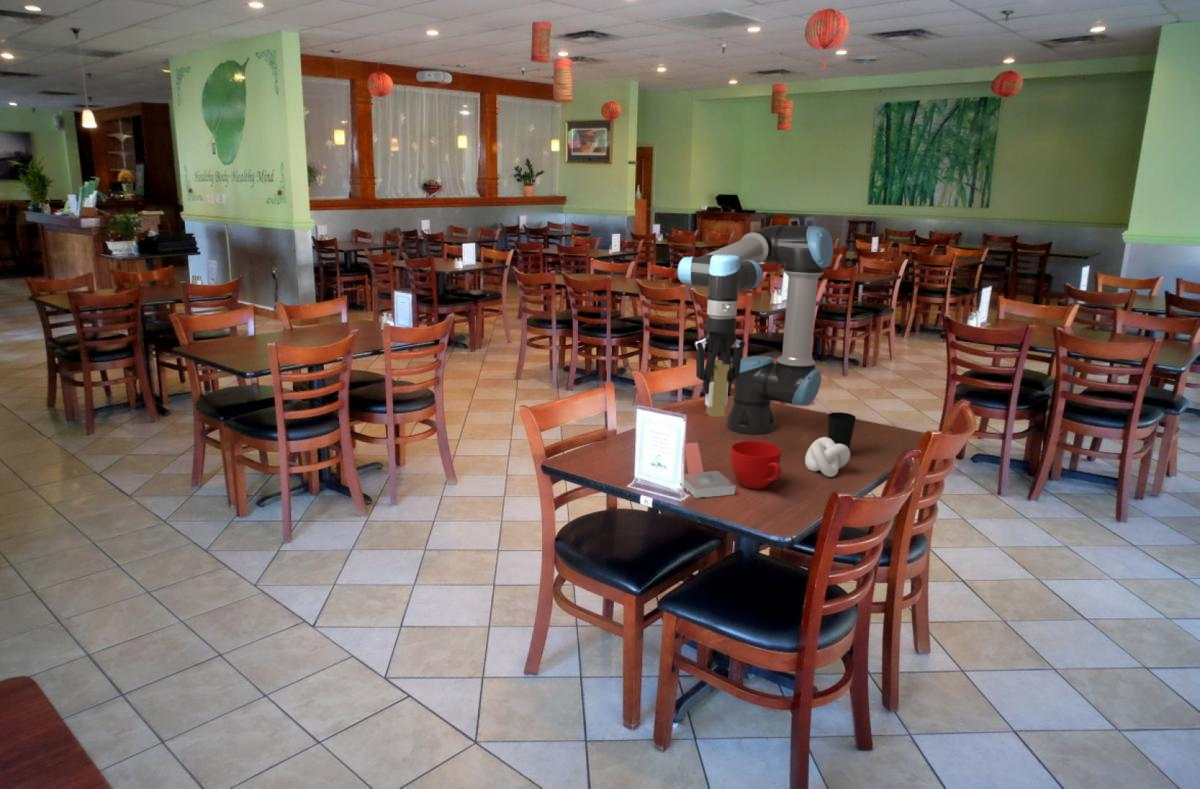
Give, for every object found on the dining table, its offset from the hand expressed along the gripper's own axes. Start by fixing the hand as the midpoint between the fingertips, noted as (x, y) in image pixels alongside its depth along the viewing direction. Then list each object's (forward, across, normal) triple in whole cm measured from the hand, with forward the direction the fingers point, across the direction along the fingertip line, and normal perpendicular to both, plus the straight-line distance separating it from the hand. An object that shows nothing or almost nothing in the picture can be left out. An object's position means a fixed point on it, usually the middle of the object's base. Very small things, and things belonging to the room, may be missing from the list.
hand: (715, 405), depth 212 cm
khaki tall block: (+3, 0, 0) cm, 3 cm away
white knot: (+20, +32, -3) cm, 38 cm away
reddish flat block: (+17, -4, +4) cm, 18 cm away
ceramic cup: (+21, +10, -8) cm, 24 cm away
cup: (+20, +44, +9) cm, 50 cm away
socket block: (+21, -4, -6) cm, 22 cm away
